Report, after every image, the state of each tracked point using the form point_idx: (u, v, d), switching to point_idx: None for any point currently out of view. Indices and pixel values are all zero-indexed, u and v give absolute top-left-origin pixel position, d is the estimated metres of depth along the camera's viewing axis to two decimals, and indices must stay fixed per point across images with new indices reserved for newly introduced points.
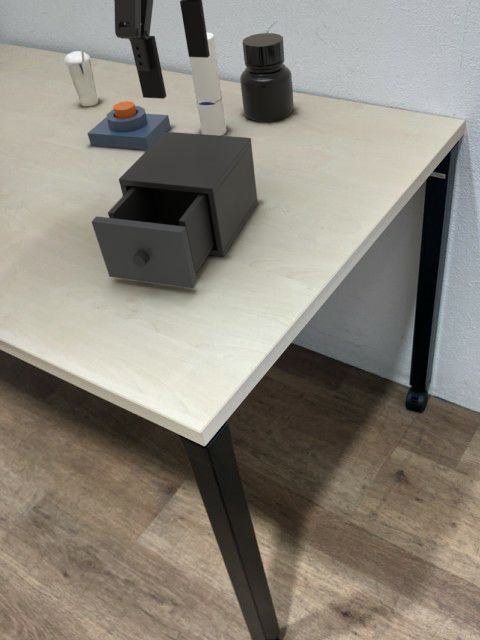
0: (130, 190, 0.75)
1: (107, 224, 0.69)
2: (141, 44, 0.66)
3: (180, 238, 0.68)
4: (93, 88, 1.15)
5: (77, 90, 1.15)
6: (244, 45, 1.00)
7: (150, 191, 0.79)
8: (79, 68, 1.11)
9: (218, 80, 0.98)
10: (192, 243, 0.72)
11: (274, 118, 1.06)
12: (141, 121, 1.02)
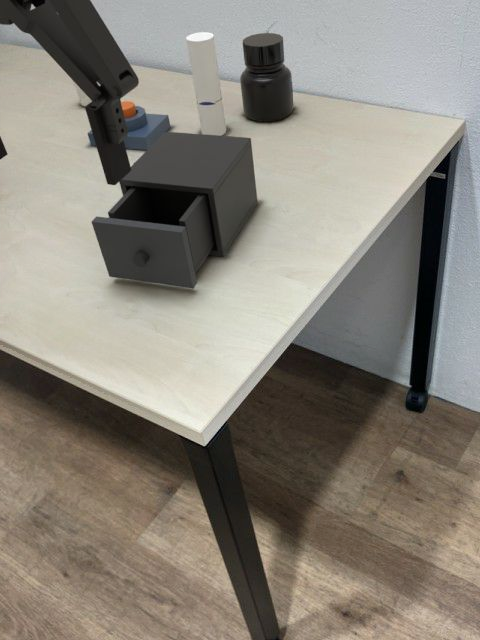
0: (130, 190, 0.75)
1: (107, 224, 0.69)
2: (119, 102, 0.48)
3: (180, 238, 0.68)
4: None
5: (77, 90, 1.15)
6: (244, 45, 1.00)
7: (150, 191, 0.79)
8: None
9: (218, 80, 0.98)
10: (192, 243, 0.72)
11: (274, 118, 1.06)
12: (141, 121, 1.02)
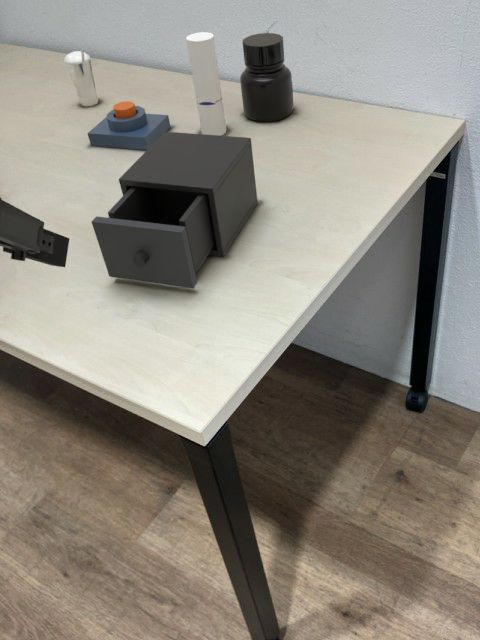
0: (130, 190, 0.75)
1: (107, 224, 0.69)
2: None
3: (180, 238, 0.68)
4: (93, 88, 1.15)
5: (77, 90, 1.15)
6: (244, 45, 1.00)
7: (150, 191, 0.79)
8: (79, 68, 1.11)
9: (218, 80, 0.98)
10: (192, 243, 0.72)
11: (274, 118, 1.06)
12: (141, 121, 1.02)
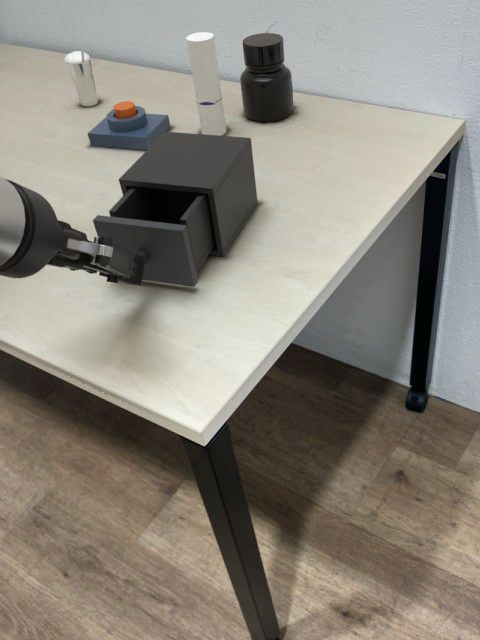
0: (131, 189, 0.75)
1: (108, 223, 0.70)
2: None
3: (181, 237, 0.68)
4: (93, 88, 1.15)
5: (77, 90, 1.15)
6: (244, 45, 1.00)
7: (151, 190, 0.79)
8: (79, 68, 1.11)
9: (218, 80, 0.98)
10: (193, 241, 0.72)
11: (274, 118, 1.06)
12: (141, 121, 1.02)
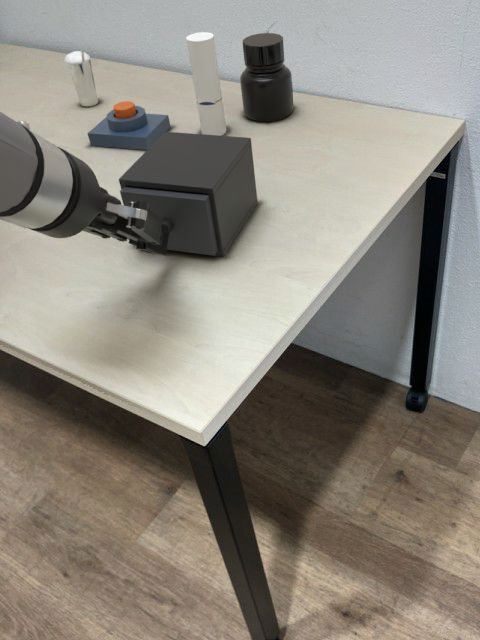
0: None
1: (135, 194, 0.74)
2: None
3: (204, 206, 0.72)
4: (93, 88, 1.15)
5: (77, 90, 1.15)
6: (244, 45, 1.00)
7: None
8: (79, 68, 1.11)
9: (218, 80, 0.98)
10: None
11: (274, 118, 1.06)
12: (141, 121, 1.02)
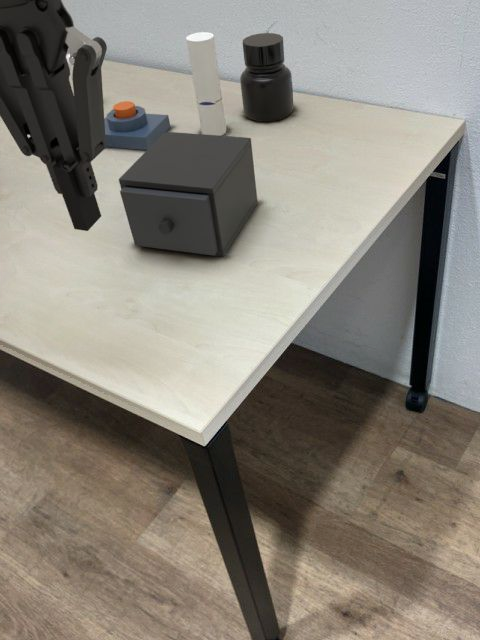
0: None
1: (135, 193, 0.74)
2: (89, 162, 0.55)
3: (204, 206, 0.72)
4: None
5: None
6: (244, 45, 1.00)
7: None
8: None
9: (218, 80, 0.98)
10: None
11: (274, 118, 1.06)
12: (141, 121, 1.02)
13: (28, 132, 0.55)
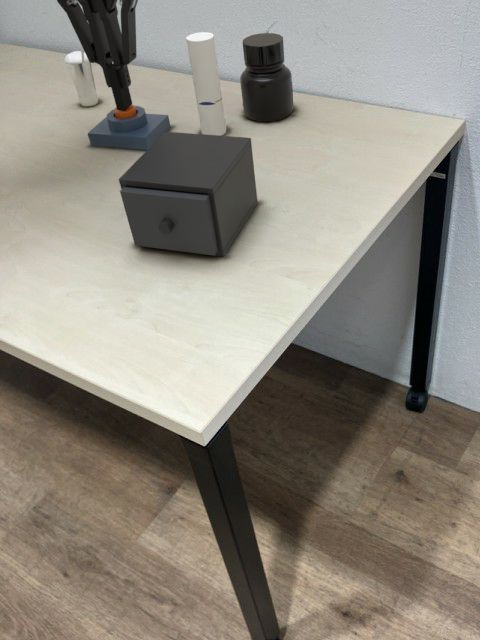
0: None
1: (135, 193, 0.74)
2: (127, 66, 0.98)
3: (204, 206, 0.72)
4: (93, 88, 1.15)
5: (77, 90, 1.15)
6: (244, 45, 1.00)
7: None
8: (79, 68, 1.11)
9: (218, 80, 0.98)
10: None
11: (274, 118, 1.06)
12: (141, 121, 1.02)
13: (92, 50, 0.98)
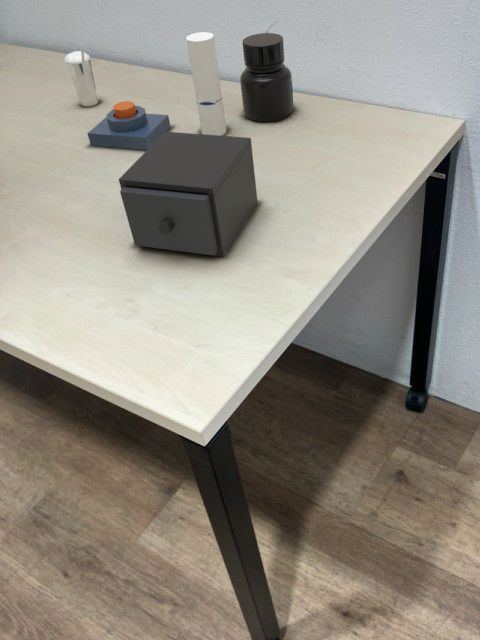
0: None
1: (135, 193, 0.74)
2: None
3: (204, 206, 0.72)
4: (93, 88, 1.15)
5: (77, 90, 1.15)
6: (244, 45, 1.00)
7: None
8: (79, 68, 1.11)
9: (218, 80, 0.98)
10: None
11: (274, 118, 1.06)
12: (141, 121, 1.02)
13: None
